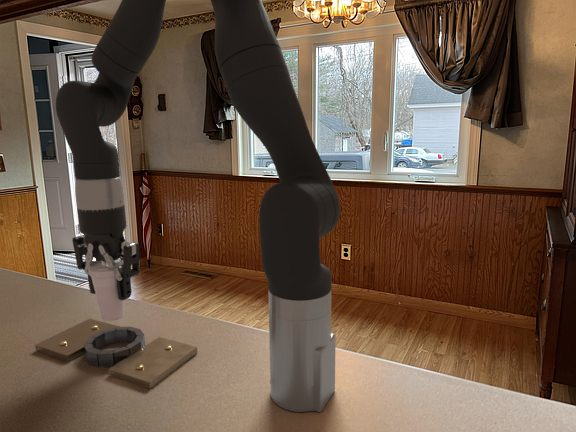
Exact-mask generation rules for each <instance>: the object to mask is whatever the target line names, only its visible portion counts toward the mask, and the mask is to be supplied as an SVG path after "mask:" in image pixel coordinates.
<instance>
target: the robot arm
mask: <svg viewBox="0 0 576 432" xmlns="http://www.w3.org/2000/svg"><path fill="white" fill-rule="evenodd" d="M166 2H167V0H121V1H120V3H119V6H118V7H117V9H116V11H115V13H114V15H113V17H112V19H111V21H109V24H108V25H107V27H106V29H105V30H104V32H103V34H102V35H101V37H100V38H99V39H100V40H98V43H97V44H96V46H95V48H94V49H93V52H92V54H91V63H92V65H93V67H94V69H95V70H96V71H97V72H98V75H97V78H96V79H95V81H94V82H89V81H82V80H69V81H66V82H65V83H63V84H62V85H61V86H60V88H59V89H58V91H57V94H56V98H55V111H56V116H57V118H58V123H59V124H60V127H61V130H62V132H63V135H64V137H65V141H66V142H67V143H66V144H68V145H67V146H68V147H69V150H70V152H71V155H72V163H73V172H74V178H75V179H74V180H75V181H74V182H75V184H74V187H75V188H74V189H75V190H74V193H75V194H74V195H75V203H76V204H75V205H76V212H77V219H78V221H77V222H78V228H79V229H78V230H79V232H80V233H81V234H82V235H78V236H74V237H72V241H71V242H72V246H73V252H74V257H75V261H76V266H77V267H76V268H77V269H78V270H83V271H84V273H85V274H86V275H87V281H88V288H89V291H90V292H89V293H90V294H93V295H96V293H95V290H94V286H93V282H92V278H91V276H90V275H89V270H88V269H89V267H90V266H93V265H94V264H97V263H101V262H105V263H107V265H108V267H109V269H111V270H113V271H114V274H115V276H116V278H117V291H118V299H119V300H124V301H125V300H127V299H129V298H131V296H132V282H131V278H133V277H135V276H137V275H140V273H141V271H140V267H141V266H140V243H139V242H137V241H135V242H128V241H126V239H125V236H124V232H125V230H126V228H127V218H126V217H127V216H126V215H127V214H126V207H125V206H126V205H125V193H124V188H123V184H122V177H121V169H120V158H119V151H118V149H117V146H116V145H115V144H113V143H112V142H109V141H106V140H105V139H104V137H103V134H102V132H101V128H102V127H103V128H104V127H109V126H112V125H113V124H115V123H116V122H118V120H120V118H121V117H122V116H123V115H124V113H125V112H126V110H127V106H128V104H129V100H130V98H131V94H132V91H133V89H134V84H135V81H136V78H137V77H138V76H139V74H140V73H141V71H142V70H143V68H144V67H145V65H146V63H147V62H148V60H149V58H151V55H152V54H153V52H154V50H155V49H156V46H157V44H158V41H159V40H160V35H161V31H162V27H163V20H164V13H165V7H166ZM210 3H211V6H212V9H213V10H212V11H213V14H214V23H215V27H214V51H215V57H216V62H217V67H218V69H219V73H220V74H221V78H222V80H223V84H224V86H225V89H226V92H227V95H228V97H229V100H230V102H231V104H232V106H233V107H234V109H235V110H236V112H237V114H238V115H239V116H240V118H241V119H242V120H243V122H245V124H246V125H247V126H248V128H249V129H250V130H251V131H252V133H254V135H255V136H256V138H257V139H258V140H259V141H260V142H261V144H262V145H263V146H264V148H265V149H266V151H267V152H268V154H269V156H270V159H271V160H272V163H273V165H274V167H275V170H276V174H277V177H278V179H279V182H278V183H275V184H273V185H272V186H271V187H269V188H268V189H267V190H266V191H265V192H264V195H263V196H262V198H261V202H260V206H259V212H258V213H259V214H258V215H259V216H258V224H259V228H258V229H259V240H260V255H261V264H262V270H263V272H264V274H265V277H266V280H267V286H268V288H267V289H268V297H267V298H268V330H269V331H268V335H269V336H268V337H269V339H268V340H269V341H268V342H269V372H270V373H269V377H270V379H269V384H270V397H271V400H273V402H274V403H275V404H276V405H277V406H278V407H280V408H282V409H284V410H287V411H291V412H298V413H299V412H303V413H304V412H305V413H306V412H311V411H315V412H318V413H321V412H323V410H324V408H325V407H326V405H327V404H328V402H329V400H330V398H331V397H332V396H333V394H334V392H335V389H336V341H337V340H336V334H335V333H334V332H332V287H333V286H332V284H333V283H332V282H333V281H332V279H333V278H332V272H331V270H330V268H329V267H327V266H326V265H324V264H322V263H321V251H320V238H323V237H324V236H326V235H328V234H330V232H331V233H332V231H333V230H334V229H335V228H336V226H337V225H338V222H339V219H340V215H341V203H340V198H339V196H338V192H337V190H336V188H335V185H334V184H333V181H332V179H331V176H330V175H329V173H328V171H327V169H326V166H325V165H324V162H323V160H322V159H321V156H320V154H319V151H318V150H317V148H316V145H315V142H314V140H313V138H312V136H311V133H310V130H309V127H308V124H307V122H306V118H305V115H304V112H303V109H302V106H301V104H300V101H299V99H298V98H299V97H298V95H297V93H296V91H295V88H294V84H293V81H292V77H291V74H290V71H289V68H288V65H287V63H286V60H285V58H284V54H283V51H282V49H281V46H280V44H279V41H278V38H277V36H276V33H275V30H274V28H273V25H272V23H271V20H270V18H269V15H268V12H267V11H266V8H265V5H264V4H263V1H262V0H210ZM100 127H101V128H100ZM83 256H85V259H84V258H83ZM119 259H120V260H119ZM114 261H119V262H114ZM119 266H121V267H123V271H124V272H121V270H120V268H119Z"/></svg>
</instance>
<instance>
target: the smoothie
mask: <svg viewBox="0 0 576 432" xmlns="http://www.w3.org/2000/svg"><path fill="white" fill-rule="evenodd" d="M119 261H120V260H116V261H114V262H119ZM119 268H120V270H121V272H124V271H123V267H121V266H119ZM88 270H89V275H90V276H91V278H92V282H93V286H94V290H95V293H96V294H95V297H96V301H97V304H98V309H99V313H100V317H101V320H102V321H103V322H114V321H118V320H120V319H121V320H122V318H124V315H125V300H119V299H118V291H117V278H116V276H115V274H114V271H113V270H111V269H109V267H108V265H107V263H105V262H101V263H97V264H94V265H93V266H90V267H89V269H88Z"/></svg>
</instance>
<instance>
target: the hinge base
mask: <svg viewBox="0 0 576 432" xmlns="http://www.w3.org/2000/svg"><path fill="white" fill-rule="evenodd" d="M144 333H145V332H143V331H142V329H141V328H136V327H134V326H119V325H115V324H112V323H107V322H105V321H99V320H97V319H96V320H95V319H94V318H93V319H92V318H88V319H86V320H84V321H82V322H80V323H77V324H76V325H74V326H72V327H69V328H67V329H65V330H63V331H61V332H59V333H57V334H55V335H52V336H51V337H49V338H45V340H42V341H39V343H36V344H35V345H34V347H35V352H38V353H42V354H44V355H48V356H50V357H53V358H57V359H59V360H63V361H66V362H68V363H69V362H71V361H72V360H74V359H77V358H78V357H80V356H82V355H83V354H84V356H85V357H84V358H85V360H86V363H87V364H88V365H91V366H94V367H96V368H108V376H110V377H113V378H116V379H119V380H122V381H124V382H128V383H131V384H133V385H136V386H140V387H143V388H145V389H149V390H151V389H153V388H154V387H155V386H156V385H158V384H159V383H160V382H162V381H163V380H165V378H167V377H168V376H170V375H171V374H172V373H174V371H176V370H178V368H180V367H182V365H184V364H185V363H186V362H187V361H189V360H190V359H191V358H193V357H194V356H195V355H197V354H198V346H195V345H192V344H187V343H184V342H180V341H176V340H172V339H168V338H164V337H161V336H158V337H157V338H155V339H154V340H152V341H150V342H149V343H148V344H146V340H145V334H144ZM118 342H121V343H123V342H129V344H127V345H126V346H123V347H119V348H115V349H105V350H104V349H103V350H102V348H103V347H104V346H105V347H106V346H108V345H110V344H114V343H118Z"/></svg>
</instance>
